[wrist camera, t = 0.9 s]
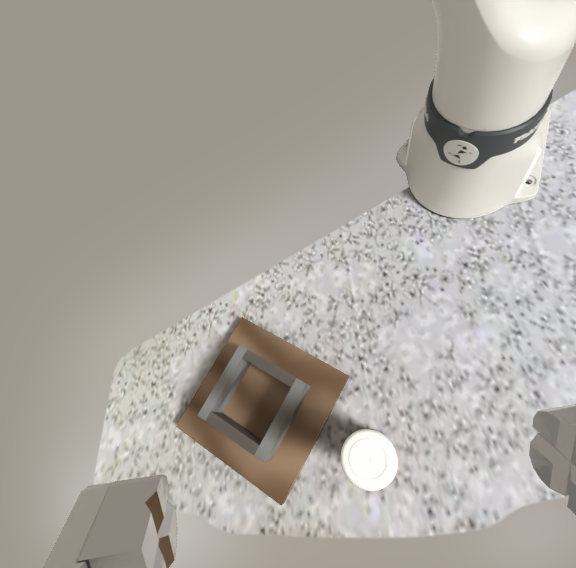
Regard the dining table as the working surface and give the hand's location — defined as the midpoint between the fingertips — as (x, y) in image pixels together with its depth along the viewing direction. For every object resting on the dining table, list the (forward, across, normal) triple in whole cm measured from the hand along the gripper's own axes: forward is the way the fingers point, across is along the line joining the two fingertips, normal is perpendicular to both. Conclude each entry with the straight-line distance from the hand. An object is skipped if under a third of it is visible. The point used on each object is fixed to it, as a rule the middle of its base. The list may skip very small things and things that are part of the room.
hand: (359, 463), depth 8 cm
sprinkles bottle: (+27, -9, +25) cm, 38 cm away
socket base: (+34, +3, +22) cm, 40 cm away
